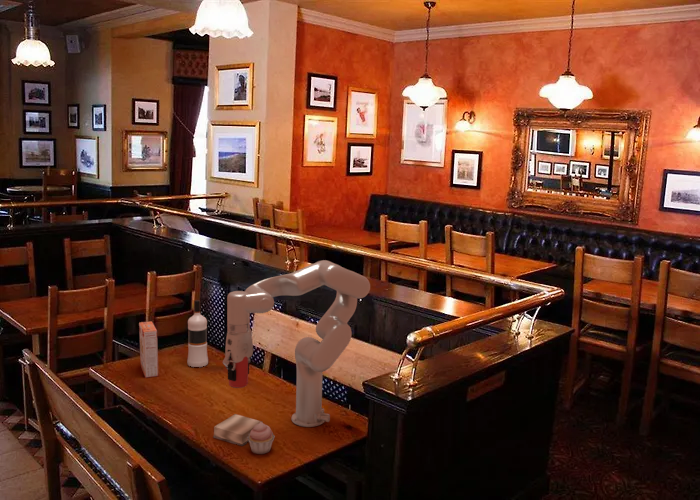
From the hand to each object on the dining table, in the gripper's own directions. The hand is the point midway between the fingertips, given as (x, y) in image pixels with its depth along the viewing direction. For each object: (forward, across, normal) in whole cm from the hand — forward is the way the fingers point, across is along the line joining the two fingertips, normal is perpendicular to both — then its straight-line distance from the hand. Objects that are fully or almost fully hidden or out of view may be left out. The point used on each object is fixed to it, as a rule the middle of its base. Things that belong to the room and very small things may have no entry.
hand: (238, 376), depth 228 cm
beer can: (+3, 0, 0) cm, 3 cm away
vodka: (+22, +45, +57) cm, 76 cm away
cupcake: (+22, -5, -13) cm, 26 cm away
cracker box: (+22, +26, +69) cm, 77 cm away
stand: (+22, 0, 0) cm, 22 cm away
